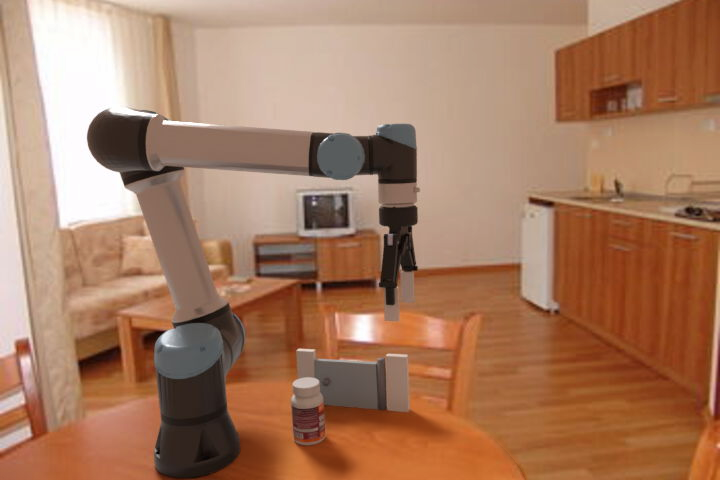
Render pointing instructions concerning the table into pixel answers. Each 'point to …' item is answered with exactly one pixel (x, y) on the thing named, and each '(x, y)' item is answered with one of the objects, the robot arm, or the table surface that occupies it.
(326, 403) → the door
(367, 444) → the table surface
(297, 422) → the pill bottle
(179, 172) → the robot arm
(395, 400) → the wall frame
